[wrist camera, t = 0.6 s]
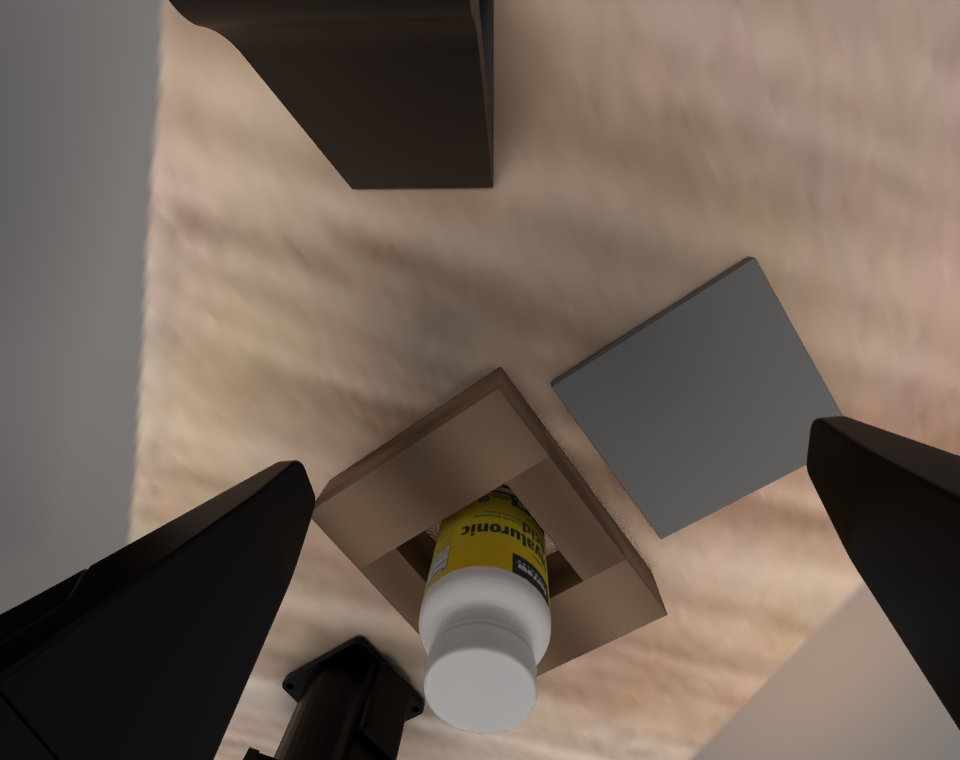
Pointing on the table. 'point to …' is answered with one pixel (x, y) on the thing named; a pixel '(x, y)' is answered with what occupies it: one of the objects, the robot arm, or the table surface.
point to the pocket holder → (465, 478)
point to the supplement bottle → (486, 615)
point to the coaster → (701, 400)
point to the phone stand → (375, 81)
